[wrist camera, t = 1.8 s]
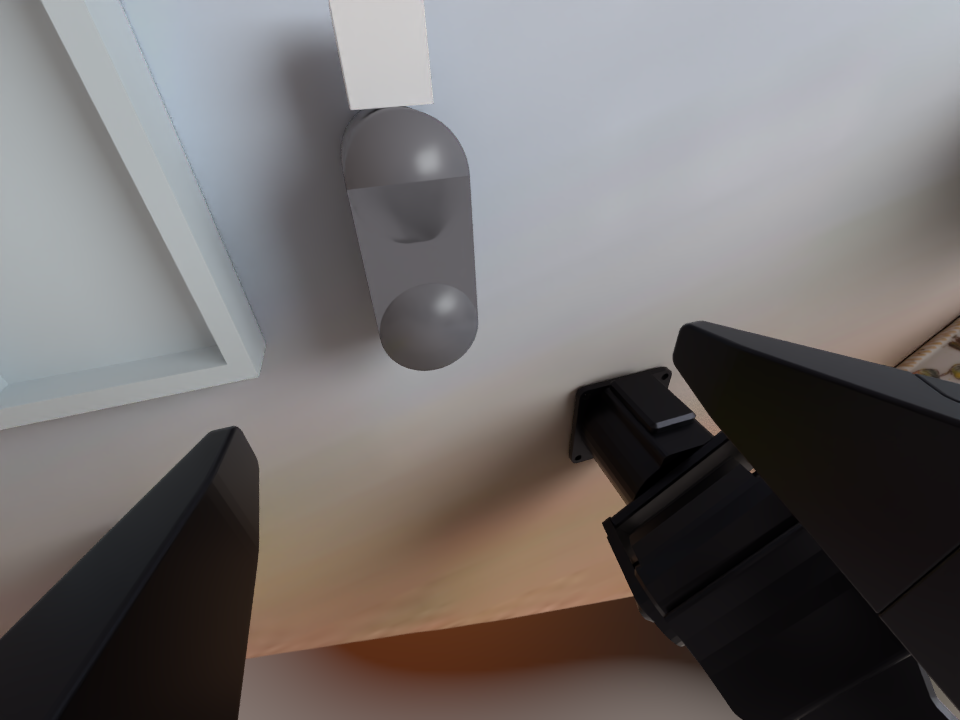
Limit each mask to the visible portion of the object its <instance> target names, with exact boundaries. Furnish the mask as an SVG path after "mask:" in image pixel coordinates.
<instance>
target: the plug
mask: <svg viewBox="0 0 960 720" xmlns="http://www.w3.org/2000/svg"><path fill="white" fill-rule="evenodd" d="M329 9H330V14H331V19H332V24H333V29H334V34H335V39H336V44H337V49H338V54H339V59H340V64H341V69H342V74H343V79H344V84H345V89H346V94H347V99H348V104H349V108H350V109H351V110H358V109H363V110H361V111H360V112H359V113H357V114H356V115H355V116H354V117H353V119H352V120H351V121H350V123H349V124H348V126H347V128H346V130H345V132H344V135H343V139H342V143H341V162H342V168H343V173H344V178H345V184H346V189H347V194H348V198H349V203H350V207H351V211H352V216H353V220H354V225H355V229H356V234H357V238H358V242H359V247H360V251H361V256H362V260H363V264H364V269H365V273H366V278H367V282H368V286H369V291H370V295H371V300H372V304H373V308H374V313H375V317H376V322H377V326H378V331H379V335H380V339H381V343H382V346H383V348H384V350H385V351H386V353H387V354H388V355H389V356H390V358H391V359H393V360H394V361H395V362H396V363H398V364H400V365H401V366H404V367H406V368H409V369H413V370H420V371H428V370H435V369H439V368H443V367H445V366H448V365H450V364H451V363H453V362H455V361H456V360H458V359H459V358H460V357H462V356H463V355H464V354H465V353H466V352H467V350H468V349H469V348H470V346H471V345H472V343H473V341H474V339H475V337H476V333H477V329H478V311H477V294H476V277H475V259H474V242H473V224H472V207H471V189H470V174H469V166H468V162H467V158H466V155H465V153H464V150H463V148H462V146H461V144H460V142H459V141H458V139H457V138H456V136H455V135H454V134H453V133H452V132H451V131H450V129H449V128H448V127H446V126H445V125H444V124H443V123H442V122H440V121H439V120H437V119H436V118H434V117H432V116H430V115H428V114H425V113H423V112H420V111H417V110H414V109H412V108H409V107H406V106H411V105H424V104H434V103H433V93H432V83H431V72H430V62H429V51H428V41H427V31H426V20H425V10H424V0H329Z"/></svg>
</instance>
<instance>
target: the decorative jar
mask: <svg viewBox="0 0 960 720" xmlns="http://www.w3.org/2000/svg"><path fill="white" fill-rule="evenodd" d="M896 368H897V369H901V370H905V371H909V372H911V373H913V374H916V373H917V374H921V375H925V376H930V377H934V378H938V379H942V380H946V381H950V382H954V383H959V384H960V317H959V318H958V319H956V320H955V321H954V322H953V323H951V324H950V325H949V326H948V327H946V328H945V329H944V330H942V331H941V332H940V333H938V334H937V335H936V336H935V337H933V338H932V339H931V340H929V341H928V342H927V343H926V344H924V345H923V346H922V347H921V348H919V349H918V350H917V351H916V352H914V353H913V354H912V355H911V356H909V357H908V358H907V359H906V360H904V361H903V362H902V363H901V364H899V365H898V366H897V367H896Z"/></svg>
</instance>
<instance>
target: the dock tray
mask: <svg viewBox="0 0 960 720" xmlns="http://www.w3.org/2000/svg"><path fill="white" fill-rule="evenodd" d="M265 348H266V342H265V340H264V338H263V335H262V333H261V331H260V328H259V326H258V324H257V321H256V319H255V317H254V314H253V312H252V310H251V307H250V305H249V303H248V300H247V298H246V296H245V293H244V291H243V289H242V286H241V284H240V282H239V279H238V277H237V274H236V272H235V270H234V267H233V265H232V263H231V260H230V258H229V256H228V253H227V251H226V249H225V246H224V244H223V242H222V239H221V237H220V235H219V232H218V230H217V228H216V225H215V223H214V221H213V218H212V216H211V214H210V211H209V209H208V207H207V204H206V202H205V199H204V197H203V195H202V192H201V190H200V188H199V185H198V183H197V181H196V178H195V176H194V174H193V171H192V169H191V167H190V164H189V162H188V160H187V157H186V155H185V153H184V150H183V148H182V146H181V143H180V141H179V139H178V136H177V134H176V131H175V129H174V127H173V124H172V122H171V120H170V117H169V115H168V113H167V110H166V108H165V106H164V103H163V101H162V99H161V96H160V94H159V92H158V89H157V87H156V85H155V82H154V80H153V78H152V75H151V73H150V71H149V68H148V66H147V63H146V61H145V59H144V56H143V54H142V52H141V49H140V47H139V45H138V42H137V40H136V38H135V35H134V33H133V31H132V28H131V26H130V24H129V21H128V19H127V17H126V14H125V12H124V10H123V7H122V5H121V3H120V0H0V430H4V429H9V428H14V427H19V426H23V425H28V424H33V423H38V422H43V421H48V420H53V419H58V418H62V417H67V416H72V415H77V414H82V413H87V412H92V411H97V410H101V409H106V408H111V407H116V406H121V405H126V404H131V403H135V402H140V401H145V400H150V399H155V398H160V397H165V396H170V395H174V394H179V393H184V392H189V391H194V390H199V389H204V388H208V387H213V386H218V385H223V384H228V383H233V382H238V381H243V380H247V379H252V378H257V377H259V375H260V371H261V366H262V362H263V357H264V353H265Z"/></svg>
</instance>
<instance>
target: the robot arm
mask: <svg viewBox="0 0 960 720" xmlns="http://www.w3.org/2000/svg"><path fill="white" fill-rule="evenodd" d="M673 362H674V365H675V367H676V368H677V370H678V371H679V372H680V374H681V375H682V377H683V378H684V380H685V381H686V383H687V384H688V385H689V387H690V388H691V390H692V391H693V393H694V394H695V396H696V397H697V398H698V400H699V401H700V403H701V404H702V406H703V407H704V408H705V410H706V411H707V413H708V414H709V415H710V417H711V418H712V419H713V421H714V422H715V423H716V424H717V426H718V427H719V428H720V429H721V430H722V431H720V432H719V433H718V434H717V435H715V436H713V435H712V434H711V433H710V432H709V431H708V430H707V429H706V428H705V427H703V426H702V425H701V424H700V423H699V422H698V421H697V420H696V419H695V417H696V415H695V413H694V412H693V411H692V410H690V409H689V408H688V407H687V406H686V405H685V404H684V403H683V402H682V401H681V400H679V399H678V398H677V397H676V396H675V395H674V394H673V393H672V392H671V391H670V390H668V386H669V382H670V379H671V376H672V372H671V371H670V370H669V369H668V368H667V367H660V368H656V369H652V370H648V371H644V372H640V373H636V374H632V375H628V376H624V377H620V378H616V379H612V380H608V381H604V382H600V383H596V384H592V385H588V386H584V387H582V388H580V389H579V390H578V392H577V394H576V401H575V409H574V417H573V426H572V434H571V442H570V450H569V458H570V459H571V461H572V462H573V463H578V462H582V461H585V460H589V459H592V458H594V459H595V461H596V462H597V463H598V465H599V466H600V468H601V469H602V471H603V472H604V473H605V475H606V476H607V478H608V479H609V480H610V482H611V483H612V485H613V486H614V488H615V489H616V490H617V492H618V493H619V495H620V496H621V498H622V499H623V500H624V502H625V503H626V505H627V506H625V507H624V508H623V509H622V510H620V511H619V512H618V513H617V514H615V515H614V516H613V517H609V518H607V519H606V520H605V521H604V522H602V524H603V527H604V529H605V531H606V533H607V535H608V536H607V539H608V541H609V543H610V545H611V548H612V550H613V552H614V554H615V556H616V558H617V561H618V563H619V565H620V567H621V569H622V571H623V574H624V576H625V578H626V580H627V582H628V585H629V587H630V589H631V591H632V593H633V595H634V598H635V600H636V603H637V607H638V610H639V612H640V613H641V615H642V616H643V617H644V618H645V619H646V620H649V621H652V622H654V623H655V624H656V625H657V626H658V628H659V629H660V630H661V631H662V632H663V633H664V634H665V635H666V636H667V637H668V638H669V639H670V640H671V641H672V642H674V643H675V644H676V645H678V646H684V645H685V646H686V647H687V648H688V649H689V651H690V652H691V653H692V654H693V656H694V657H695V658H696V660H697V661H698V662H699V663H700V665H701V666H702V667H703V669H704V670H705V672H706V673H707V674H708V676H709V677H710V679H711V680H712V682H713V683H714V684H715V686H716V687H717V689H718V690H719V692H720V693H721V695H722V696H723V698H724V699H725V700H726V702H727V704H728V705H729V706H730V708H731V709H732V711H733V712H734V713H735V714H736V715H737V716H738V717H740V718H741V719H743V720H959V719H958V718H957V717H956V716H955V715H954V714H953V713H952V712H951V711H950V710H949V709H948V708H947V707H946V706H945V705H944V704H943V703H942V702H941V701H940V700H939V699H938V698H937V696H936V694H935V692H934V689H933V687H932V684H931V681H930V678H929V676H930V677H931V679H932V680H933V681H934V682H935V683H936V684H937V686H938V687H939V688H940V689H941V690H942V691H943V693H944V694H945V695H946V696H947V697H948V699H949V700H950V701H951V702H952V703H953V704H954V706H955V707H956V708H957V709H958V710H959V712H960V384H959V383H954V382H950V381H946V380H942V379H938V378H934V377H930V376H925V375H921V374H917V373H916V374H913V373H911V372H909V371H905V370H901V369H897V368H893V367H889V366H885V365H880V364H876V363H872V362H868V361H864V360H860V359H856V358H852V357H848V356H844V355H840V354H836V353H832V352H828V351H824V350H820V349H815V348H811V347H807V346H803V345H799V344H795V343H791V342H787V341H783V340H779V339H775V338H771V337H767V336H763V335H759V334H755V333H751V332H746V331H742V330H738V329H734V328H730V327H726V326H722V325H718V324H714V323H710V322H706V321H696V322H691V323H687V324H685V325H683V326H682V327H681V328H680V331H679V334H678V337H677V341H676V345H675V348H674V352H673ZM585 394H586V395H585ZM753 468H754V469H755V470H756V471H755V472H754V473H750V472H749V471H750V470H752V469H753ZM258 553H259V465H258V461H257V458H256V456H255V454H254V452H253V450H252V448H251V447H250V445H249V443H248V441H247V439H246V438H245V436H244V434H243V432H242V431H241V429H240V428H238V427H236V426H231V427H227V428H222V429H218V430H214V431H211V432H209V433H208V434H207V435H206V436H205V437H204V438H203V439H202V440H201V441H200V442H199V443H198V444H197V445H196V446H195V447H194V448H193V449H192V450H191V451H190V452H189V453H188V454H187V455H186V456H185V457H184V458H183V459H182V460H180V461H179V462H178V463H177V464H176V465H175V466H174V467H173V468H172V469H171V470H170V471H169V472H168V473H167V474H166V475H165V476H164V477H163V478H162V479H161V480H160V481H159V482H158V483H157V484H156V485H155V486H154V487H153V488H152V489H151V490H150V491H149V492H148V493H147V494H146V495H145V496H144V497H143V498H142V499H141V500H140V501H139V502H138V503H137V504H136V505H135V506H134V507H133V508H132V509H131V510H130V511H129V512H128V513H127V514H126V515H125V516H124V517H123V518H122V519H121V520H120V521H119V522H118V523H117V524H116V525H115V526H114V527H113V528H112V529H111V530H110V531H109V532H108V533H107V534H106V535H105V536H104V537H103V538H102V539H101V540H100V541H99V542H98V543H97V544H96V545H95V546H94V547H93V548H92V549H91V550H90V551H89V552H88V553H87V554H86V555H85V556H84V557H83V558H82V559H80V560H79V561H78V562H77V563H76V564H75V565H74V566H73V567H72V568H71V569H70V570H69V571H68V572H67V573H66V574H65V575H64V576H63V577H62V578H61V579H60V580H59V581H58V582H57V583H56V584H55V585H54V586H53V587H52V588H51V589H50V590H49V591H48V592H47V593H46V594H45V595H44V596H43V597H42V598H41V599H40V600H39V601H38V602H37V603H36V604H35V605H34V606H33V607H32V608H31V609H30V610H29V611H28V612H27V613H26V614H25V615H24V616H23V617H22V618H21V619H20V620H19V621H18V622H17V623H16V624H15V625H14V626H13V627H12V628H11V629H10V630H9V631H8V632H7V633H6V634H5V635H4V636H3V637H2V638H1V639H0V720H238V714H239V706H240V698H241V690H242V682H243V674H244V666H245V659H246V651H247V643H248V635H249V627H250V619H251V611H252V603H253V595H254V587H255V579H256V571H257V563H258ZM928 675H929V676H928Z"/></svg>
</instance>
